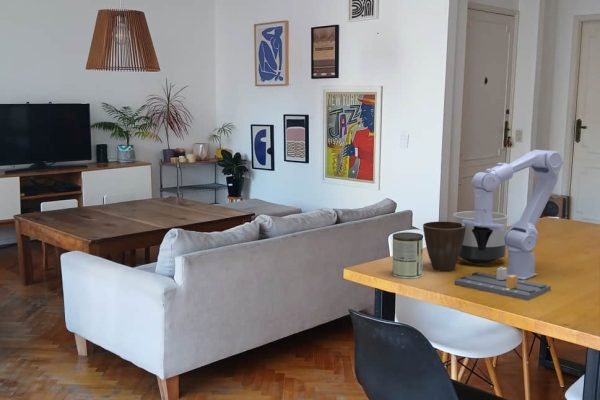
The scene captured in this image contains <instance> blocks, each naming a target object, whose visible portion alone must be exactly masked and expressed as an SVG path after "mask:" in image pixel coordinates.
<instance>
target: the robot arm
mask: <svg viewBox="0 0 600 400" xmlns="http://www.w3.org/2000/svg"><path fill="white" fill-rule="evenodd" d="M563 164H564V161H563V157H562V155H561V153H560V152H559V151H557V150H545V149H543V150H542V149H536V148H535V149H533V150H531V151H528V152H526V154H525V155H523V156H521V157H519V158H517V159H516V160H514V161H512V162H510V163H506V162H498V163H496V166H493V167H491V168H486V170H485V171H484V172H482V171H479V172H477V173H475V174H474V176H473V178H472V180H471V182H470V183H471V186H472V188H473V194H474V206H473V207H474V208H473V209H474V210H473V211H474V220H462V226H469V227H474V229H472V232H473V234H474V236H475V238H476V241H477V245H478V250H481V251H483V250H485V248H486V245H487V242H488V239H489V237H490V235H491V234H492V232H493V230H498V231H504V230H505V225H502V224H497V223H493V222H492V212H493V208H494V207H493V203H494V202H493V201H494V200H493V199H494V191H495V190H496V188H497V187H498V186H499V185H500V184H503V183H504V182H507V181H509V180H511V179H513V175H514V174H516V173H518V172H521V171H522V170H525V169H527V168H530V167H531V169H532V171H534V173H535V175H536V176H537V177H538V181H537V183H536V185H535V186H534V190H533V191H532V193H531V195H530V198H529V200H528V202H527V204H526V205H525V208H524V210H523V211H522V215H521V216H520V218H519V220H517V221H515V222H514V223H512V224H511V226H510V227H509V228H508V229H507V232H506V233H505V235H504V242H505V244H506V250H508V251H507V254H508V255H507V276H509V275H515V276H517V279H518V280H523V281H526V280H528V279H529V278H532V277H535V276H537V275H538V274H537V273H536V272H535V267H536V266H535V263H536V261H535V260H536V256H535V253H534V252H533V250H534V249H535V247H536V245H537V239H538V237H539V232H538V230H537V228H536V227H537V224H538V222H539V221H540V218H541V216H542V214H543V212H544V210H545V207H546V205H547V203H548V201H549V199H550V197H551V195H552V193H553V191H554V188H555V187H556V185H557V183H558V179H559V173H560V170H561V169H562V167H563ZM483 226H484V227H483Z"/></svg>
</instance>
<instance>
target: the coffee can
mask: <svg viewBox="0 0 600 400" xmlns="http://www.w3.org/2000/svg"><path fill="white" fill-rule="evenodd" d="M423 238H424V234H422V233H418V232H411V231H410V232H407V231H405V232H396V233H393V234H392V276H393V275H394V276H393V277H395V278H398V277H399V279H406V280H413V278H414V279H420V278H422V277H423V250H424V249H423V248H424V247H423V245H424V244H423V242H424V241H423ZM421 276H422V277H421ZM419 277H420V278H419Z"/></svg>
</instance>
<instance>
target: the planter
mask: <svg viewBox="0 0 600 400" xmlns="http://www.w3.org/2000/svg"><path fill="white" fill-rule="evenodd" d="M452 218H453V219H452V222H457V223H462V220H474V210H466V211H459V212H455V213H453V216H452ZM492 222H493V223H497V224H502V225H505V230H504V231H498V230H493V232H492V234H491V235H490V237H489V239H488V242H487V245H486V248H485V250H483V251H481V250H478V245H477V241H476V238H475V236H474V234H473V232H472V229H474V227H469V226H466V229H465V235H464V240H463V245H462V248H461V252H460V255H459V258H460V259H462V260H464V261H465V262H468V263H470V264H475V265H476V264H477V265H487V264H490V263H494V262H495V261H497V260H499V259H502V258H505V257H506V255H507V245H506V244H505V242H504V235H505V233H506V232H507V231H508V215H507V214H504V213H501V212H496V211H495V212H494V211H492ZM483 227H484V226H483Z"/></svg>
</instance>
